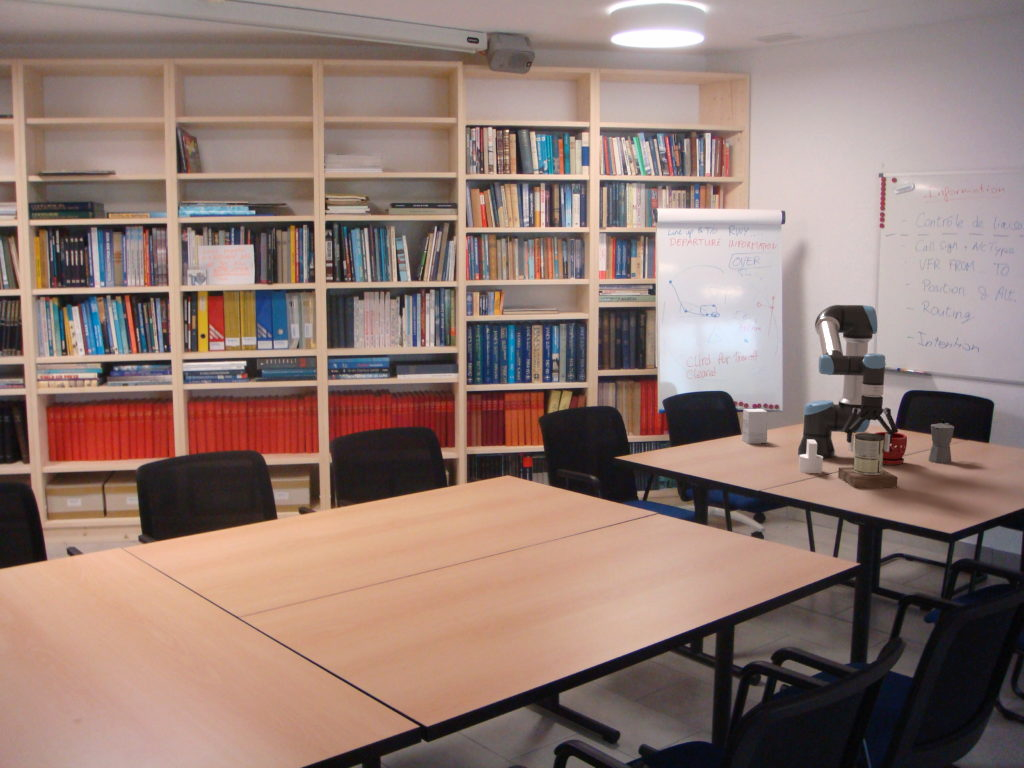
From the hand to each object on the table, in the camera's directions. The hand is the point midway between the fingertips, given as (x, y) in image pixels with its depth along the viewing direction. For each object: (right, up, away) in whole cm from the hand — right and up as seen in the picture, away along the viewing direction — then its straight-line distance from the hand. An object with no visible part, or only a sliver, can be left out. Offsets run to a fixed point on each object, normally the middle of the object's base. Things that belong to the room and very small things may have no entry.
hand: (868, 451), depth 352 cm
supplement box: (-23, -2, +78) cm, 81 cm away
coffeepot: (+46, -7, +41) cm, 62 cm away
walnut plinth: (0, -12, +1) cm, 12 cm away
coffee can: (0, -8, +1) cm, 8 cm away
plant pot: (+22, -8, +37) cm, 43 cm away
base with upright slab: (-16, -10, +20) cm, 27 cm away
